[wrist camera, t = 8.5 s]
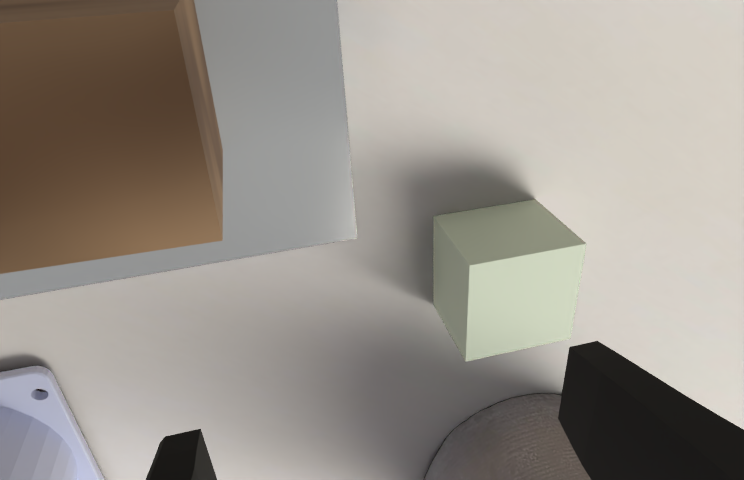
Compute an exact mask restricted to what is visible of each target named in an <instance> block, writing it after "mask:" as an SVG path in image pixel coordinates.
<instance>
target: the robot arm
mask: <svg viewBox="0 0 744 480" xmlns="http://www.w3.org/2000/svg"><path fill="white" fill-rule="evenodd" d="M36 389H43V390H46V391H47V392H40V391H37V390H36ZM558 420H559V422H560V424H561V426H562V428H563V430H564V432H565V434H566V436H567V438H568V440H569V442H570V444H571V446H572V447H573V449H574V451H575V453H576V455H577V457H578V459H579V461H580V462H581V464H582V466H583V468H584V469H585V471H586V472H587V474H588V475H589V477H590V478H591V480H744V430H743V429H741V428H740V427H738V426H736V425H734V424H733V423H731V422H729V421H727V420H726V419H724V418H722V417H720V416H719V415H717V414H715V413H714V412H712V411H710V410H709V409H707V408H705V407H704V406H702V405H700V404H699V403H697V402H695V401H694V400H692V399H690V398H689V397H687V396H685V395H684V394H682V393H680V392H679V391H677V390H676V389H674V388H672V387H671V386H669V385H668V384H666V383H664V382H663V381H661V380H660V379H658V378H656V377H655V376H653V375H652V374H650V373H648V372H647V371H645V370H644V369H642V368H640V367H639V366H637V365H636V364H634V363H632V362H631V361H629V360H628V359H626V358H624V357H623V356H621V355H620V354H618V353H616V352H615V351H613V350H611V349H610V348H608V347H606V346H605V345H603V344H601V343H600V342H598V341H595V342H591V343H586V344H582V345H577V346H573V347H570V348H569V354H568V360H567V366H566V372H565V378H564V384H563V390H562V396H561V403H560V409H559V415H558ZM0 480H105V479H104V477H103V475H102V473H101V471H100V469H99V467H98V465H97V463H96V461H95V459H94V457H93V455H92V453H91V451H90V449H89V447H88V445H87V443H86V441H85V439H84V437H83V435H82V433H81V431H80V428H79V426H78V424H77V422H76V420H75V418H74V416H73V414H72V412H71V410H70V408H69V406H68V404H67V402H66V400H65V398H64V396H63V394H62V392H61V390H60V388H59V386H58V384H57V382H56V380H55V377H54V375H53V374H52V372H51V371H50V370H49V369H47V368H45V367H41V366H30V367H25V368H19V369H14V370H9V371H4V372H0ZM146 480H217V478H216V475H215V472H214V469H213V466H212V463H211V460H210V457H209V454H208V450H207V447H206V444H205V441H204V438H203V435H202V432H201V429H198V430H193V431H189V432H184V433H180V434H175V435H171V436H166V437H165V438H164V439H163V440H162V441H161V442H160V444H159V447H158V450H157V452H156V455H155V458H154V460H153V463H152V465H151V468H150V470H149V473H148V475H147V478H146Z"/></svg>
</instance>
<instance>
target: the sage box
mask: <svg viewBox="0 0 744 480" xmlns="http://www.w3.org/2000/svg"><path fill="white" fill-rule="evenodd" d="M585 250H586V243H585V242H584V241H583V240H582V239H581V238H579V237H578V236H577V235H576V234H575V233H574V232H572V231H571V230H570V229H569V228H568V227H567V226H566V225H564V224H563V223H562V222H561V221H560V220H559V219H558V218H556V217H555V216H554V215H553V214H552V213H551V212H549V211H548V210H547V209H546V208H545V207H544V206H543V205H541V204H540V203H539V202H538V201H537V200H536V199H533V200H527V201H521V202H515V203H509V204H503V205H497V206H491V207H485V208H479V209H473V210H467V211H461V212H455V213H449V214H443V215H437V216H433V305H434V307H435V308H436V310H437V312H438V314H439V316H440V317H441V319H442V321H443V323H444V324H445V326H446V328H447V330H448V332H449V333H450V335H451V337H452V339H453V340H454V342H455V344H456V346H457V348H458V349H459V351H460V353H461V355H462V356H463V358H464V360H465V362H467V361H472V360H476V359H481V358H485V357H490V356H495V355H499V354H504V353H508V352H513V351H517V350H522V349H527V348H531V347H536V346H540V345H545V344H549V343H554V342H558V341H563V340H568V339H570V338H571V332H572V326H573V320H574V315H575V309H576V303H577V297H578V291H579V285H580V279H581V273H582V268H583V262H584V256H585Z"/></svg>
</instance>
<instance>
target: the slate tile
mask: <svg viewBox="0 0 744 480" xmlns="http://www.w3.org/2000/svg"><path fill="white" fill-rule="evenodd" d="M194 3H195V8H196V13H197V19H198V24H199V29H200V34H201V39H202V45H203V50H204V55H205V60H206V65H207V70H208V76H209V81H210V86H211V91H212V96H213V102H214V107H215V112H216V117H217V122H218V128H219V133H220V138H221V143H222V148H223V241H217V242H210V243H204V244H197V245H190V246H184V247H177V248H170V249H164V250H157V251H150V252H144V253H137V254H130V255H124V256H117V257H110V258H104V259H97V260H90V261H84V262H77V263H70V264H64V265H57V266H50V267H44V268H37V269H30V270H24V271H17V272H10V273H4V274H0V300H2V299H8V298H14V297H20V296H26V295H31V294H37V293H43V292H49V291H55V290H61V289H66V288H72V287H78V286H84V285H90V284H95V283H101V282H107V281H113V280H119V279H124V278H130V277H136V276H142V275H148V274H154V273H159V272H165V271H171V270H177V269H183V268H188V267H194V266H200V265H206V264H212V263H217V262H223V261H229V260H235V259H241V258H247V257H252V256H258V255H264V254H270V253H276V252H281V251H287V250H293V249H299V248H305V247H310V246H316V245H322V244H328V243H334V242H340V241H345V240H351V239H357V227H356V216H355V204H354V193H353V181H352V169H351V158H350V146H349V134H348V123H347V111H346V100H345V88H344V76H343V65H342V53H341V41H340V30H339V18H338V7H337V0H194Z"/></svg>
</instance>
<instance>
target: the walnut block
mask: <svg viewBox="0 0 744 480" xmlns="http://www.w3.org/2000/svg"><path fill="white" fill-rule="evenodd" d="M217 241H223V148H222V143H221V138H220V133H219V128H218V122H217V117H216V112H215V107H214V102H213V96H212V91H211V86H210V81H209V76H208V70H207V65H206V60H205V55H204V50H203V45H202V39H201V34H200V29H199V24H198V19H197V13H196V8H195V3H194V0H0V274H4V273H10V272H17V271H24V270H30V269H37V268H44V267H50V266H57V265H64V264H70V263H77V262H84V261H90V260H97V259H104V258H110V257H117V256H124V255H130V254H137V253H144V252H150V251H157V250H164V249H170V248H177V247H184V246H190V245H197V244H204V243H210V242H217Z"/></svg>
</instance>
